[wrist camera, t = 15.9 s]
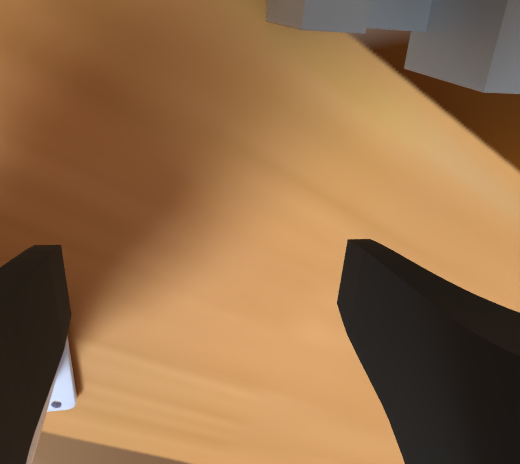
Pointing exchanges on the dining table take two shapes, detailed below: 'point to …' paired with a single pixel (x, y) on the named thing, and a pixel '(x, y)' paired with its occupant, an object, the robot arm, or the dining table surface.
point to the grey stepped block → (428, 34)
